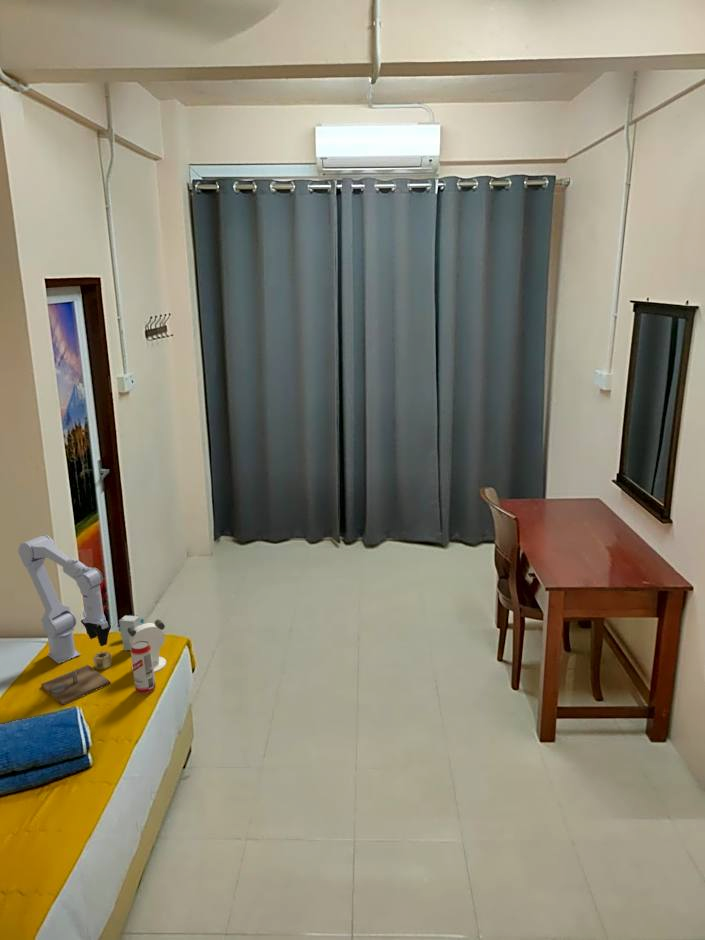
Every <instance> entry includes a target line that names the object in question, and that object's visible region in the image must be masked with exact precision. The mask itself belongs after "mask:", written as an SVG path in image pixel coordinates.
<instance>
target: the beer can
mask: <svg viewBox="0 0 705 940" xmlns="http://www.w3.org/2000/svg"><path fill="white" fill-rule="evenodd" d="M130 655H131V656H130V657H131V664H132V666H133V670H132V672H133V673H132V674H133V680H134V681H133V682H134V688H135V691H136V693H138V694H141V695H142V694H143V695H145V694H150V693H152V692H153V691H154V690H155V688H156V678H155V677H156V676H155V672H154V668H153V659H152V651H151V647H150V645H149V643H148V642H147V641H138V642H136V643H134V644H133V645H132V649H131V651H130ZM132 666H131V667H132Z"/></svg>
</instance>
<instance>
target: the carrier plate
mask: <svg viewBox="0 0 705 940" xmlns="http://www.w3.org/2000/svg"><path fill="white" fill-rule="evenodd" d="M109 684H110V685H111V681H110V679H108V678H107V677H105V676H104V675H103V674H102V673H100V672H98V671H97V669H96V670H95V668H94V667H92V666H90V665H89V664H86V665H84V666H82V667H80V668H76V669H74V670H72V671H69V672H67V673H65V674H63V675H60V676H57V677H55V678H52V679H50V680H48V681H45V682H43V683H40V686H41V687H43V689H44V691H45V692H47V691H48V692H49V693H50V694H51V695H50V694H49V693H48V692H47V693H48V694H49V695H50V696H51V697H53V698H54V697H55V698H56V699H57V700H58V701H59V702H58V701H57V700H56V699H55V698H54V699H55V700H56V701H57V702H58V703H60V704H61V705H62V706H64V705H66V704H68V702H69V703H70V701H71V702H73V701H75V700H74V699H76V698H78V699H80V698H82V697H84V696H83V695H85V696H86V694H87V693H89V694H91V693H93V692H92V691H94V690H96V689H98V690H100V689H102V688H101V687H103V688H105V687H107V686H110V685H109ZM106 685H107V686H106ZM104 686H105V687H104ZM99 688H100V689H99ZM96 691H97V690H96ZM90 692H91V693H90ZM94 692H95V691H94ZM87 695H88V694H87ZM81 696H82V697H81ZM79 697H80V698H79ZM72 700H73V701H72ZM76 700H77V699H76ZM65 703H66V704H65ZM63 704H64V705H63Z"/></svg>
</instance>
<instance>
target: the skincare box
mask: <svg viewBox="0 0 705 940" xmlns="http://www.w3.org/2000/svg"><path fill="white" fill-rule="evenodd" d="M138 616H139V615H137V616H136V615H133V616H129V615H124V616H123V617H121V618H120V619H119V620H118V622H119V623H120V625H119V627H120V629H121V631H120V636H121V635H122V636H121V641H122V646H123V647H122V648H123V650H124V651H127V650H130V652H131V649H132V646H131V645H130V641H129V639H130V634H129V633H128V628H129V627H133V628H135V627H137V626H139V625H142V623H141V622H140V620H141V618H140V616H139V617H138ZM119 623H118V624H119Z"/></svg>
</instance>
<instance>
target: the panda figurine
mask: <svg viewBox="0 0 705 940" xmlns="http://www.w3.org/2000/svg"><path fill="white" fill-rule="evenodd" d="M165 627H166V626H165V624H164V623H163V621H162V620H161V619H156V620H155V621H154V623H153V622H146V623H143V624H142V623H141V625H139V626H137V627H135V628H133V627H129V628H128V633H129V634H130V639H129V641H130V645H131V646H132V645H133V644H134V643H136V642H138V641H147V642H148V643H149V645H150V647H151V651H152V659H153V668H154V673H156V672H159V671H161V670H162V669H164V668H165V666H166V665H167V660H166V658H164V657H162V656H160V649H161V648H162V646H163V645H164V643H165V641H166V635H165V633H164V631H163V630H164V629H165ZM131 670H132V671H133V666H131Z"/></svg>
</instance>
